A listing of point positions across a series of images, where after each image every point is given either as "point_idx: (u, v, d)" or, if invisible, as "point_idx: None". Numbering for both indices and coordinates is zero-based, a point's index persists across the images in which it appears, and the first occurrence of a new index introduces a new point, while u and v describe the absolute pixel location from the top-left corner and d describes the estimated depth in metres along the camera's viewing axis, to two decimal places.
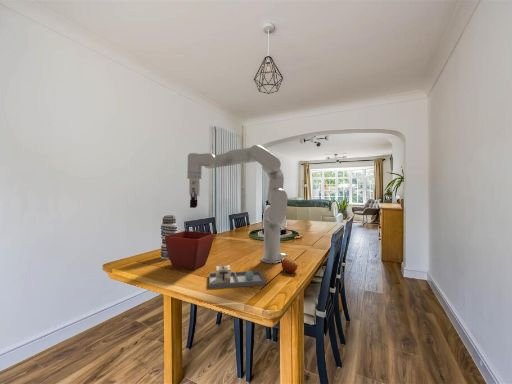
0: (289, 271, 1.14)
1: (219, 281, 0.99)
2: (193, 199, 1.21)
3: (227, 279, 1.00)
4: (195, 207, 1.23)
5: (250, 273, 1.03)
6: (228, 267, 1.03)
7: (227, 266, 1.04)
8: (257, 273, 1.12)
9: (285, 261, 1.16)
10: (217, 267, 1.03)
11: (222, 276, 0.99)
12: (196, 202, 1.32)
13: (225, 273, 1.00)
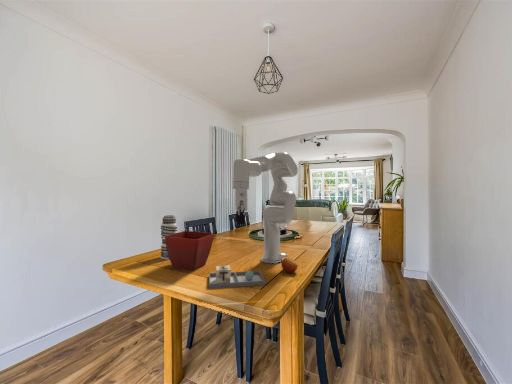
0: (289, 271, 1.14)
1: (219, 281, 0.99)
2: (242, 214, 1.02)
3: (227, 279, 1.00)
4: (243, 223, 1.03)
5: (250, 273, 1.03)
6: (228, 267, 1.03)
7: (227, 266, 1.04)
8: (257, 273, 1.12)
9: (285, 261, 1.16)
10: (217, 267, 1.03)
11: (222, 276, 0.99)
12: None
13: (225, 273, 1.00)
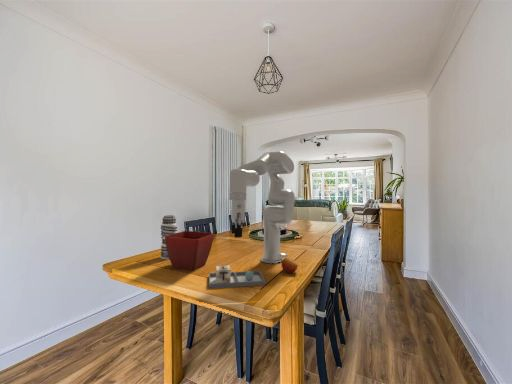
0: (289, 271, 1.14)
1: (219, 281, 0.99)
2: (239, 227, 0.97)
3: (227, 279, 1.00)
4: None
5: (250, 273, 1.03)
6: (228, 267, 1.03)
7: (227, 266, 1.04)
8: (257, 273, 1.12)
9: (285, 261, 1.16)
10: (217, 267, 1.03)
11: (222, 276, 0.99)
12: None
13: (225, 273, 1.00)
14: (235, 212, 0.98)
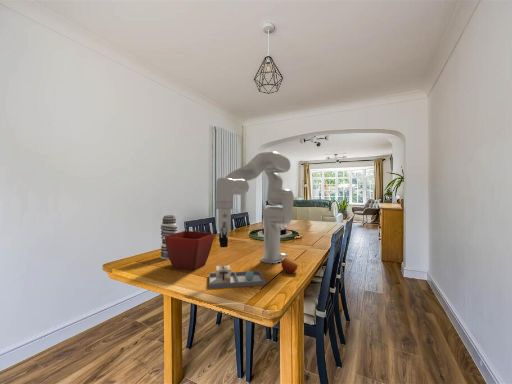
0: (289, 271, 1.14)
1: (219, 281, 0.99)
2: (224, 237, 0.96)
3: (227, 279, 1.00)
4: (226, 246, 0.97)
5: (250, 273, 1.03)
6: (228, 267, 1.03)
7: (227, 266, 1.04)
8: (257, 273, 1.12)
9: (285, 261, 1.16)
10: (217, 267, 1.03)
11: (222, 276, 0.99)
12: None
13: (225, 273, 1.00)
14: (221, 221, 0.97)
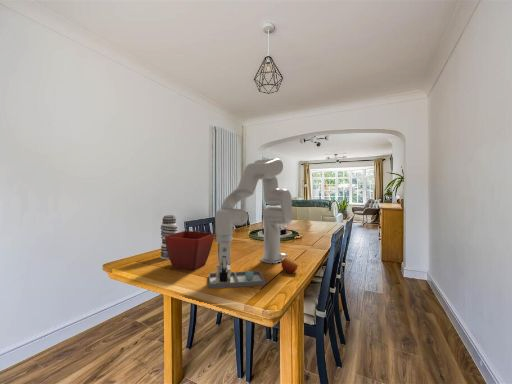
0: (289, 271, 1.14)
1: (219, 281, 0.99)
2: (224, 272, 0.98)
3: (227, 279, 1.00)
4: (226, 281, 0.99)
5: (250, 273, 1.03)
6: (228, 267, 1.03)
7: (227, 266, 1.04)
8: (257, 273, 1.12)
9: (285, 261, 1.16)
10: (217, 267, 1.03)
11: None
12: None
13: None
14: (220, 255, 0.97)
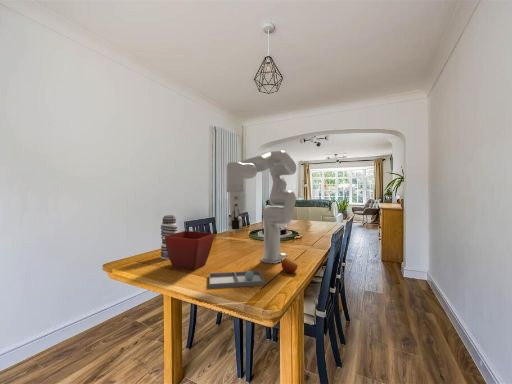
0: (289, 271, 1.14)
1: (231, 229, 1.04)
2: (236, 219, 1.03)
3: None
4: (238, 228, 1.04)
5: (250, 273, 1.03)
6: (239, 217, 1.08)
7: None
8: (257, 273, 1.12)
9: (285, 261, 1.16)
10: (229, 217, 1.07)
11: None
12: None
13: None
14: (232, 204, 1.02)
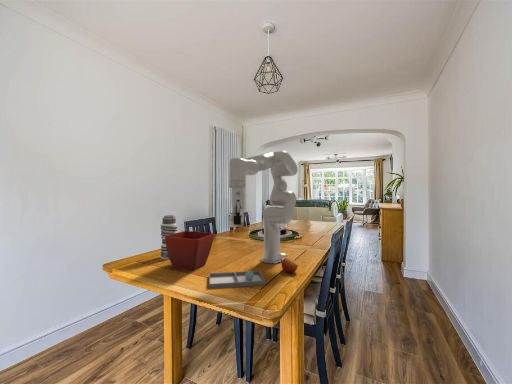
0: (289, 271, 1.14)
1: (233, 224, 1.05)
2: (238, 215, 1.03)
3: None
4: (239, 224, 1.05)
5: (250, 273, 1.03)
6: (241, 213, 1.08)
7: None
8: (257, 273, 1.12)
9: (285, 261, 1.16)
10: (231, 213, 1.08)
11: None
12: None
13: None
14: (234, 199, 1.03)
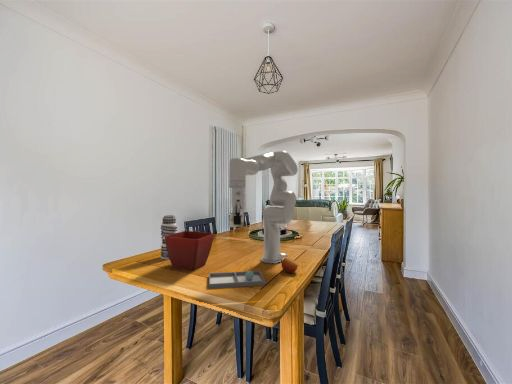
0: (289, 271, 1.14)
1: (233, 224, 1.05)
2: (238, 215, 1.03)
3: None
4: (239, 224, 1.05)
5: (250, 273, 1.03)
6: (241, 213, 1.08)
7: None
8: (257, 273, 1.12)
9: (285, 261, 1.16)
10: (231, 213, 1.08)
11: None
12: None
13: None
14: (234, 199, 1.03)
